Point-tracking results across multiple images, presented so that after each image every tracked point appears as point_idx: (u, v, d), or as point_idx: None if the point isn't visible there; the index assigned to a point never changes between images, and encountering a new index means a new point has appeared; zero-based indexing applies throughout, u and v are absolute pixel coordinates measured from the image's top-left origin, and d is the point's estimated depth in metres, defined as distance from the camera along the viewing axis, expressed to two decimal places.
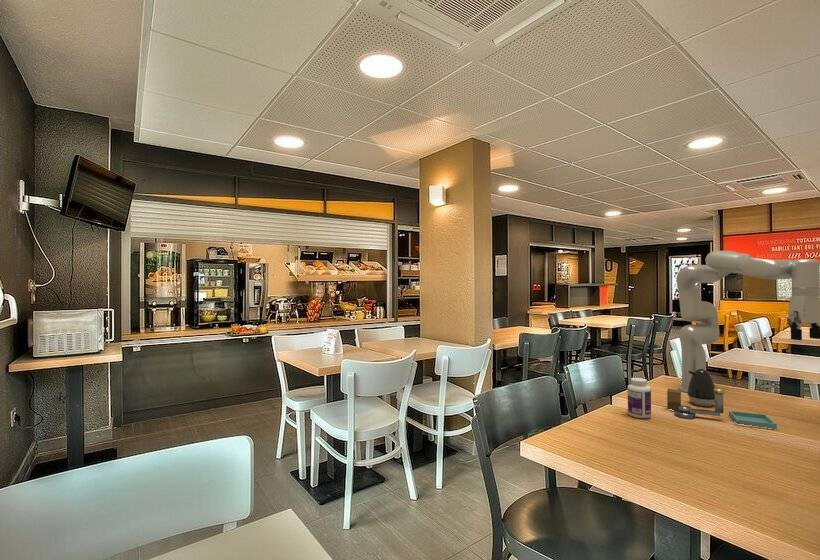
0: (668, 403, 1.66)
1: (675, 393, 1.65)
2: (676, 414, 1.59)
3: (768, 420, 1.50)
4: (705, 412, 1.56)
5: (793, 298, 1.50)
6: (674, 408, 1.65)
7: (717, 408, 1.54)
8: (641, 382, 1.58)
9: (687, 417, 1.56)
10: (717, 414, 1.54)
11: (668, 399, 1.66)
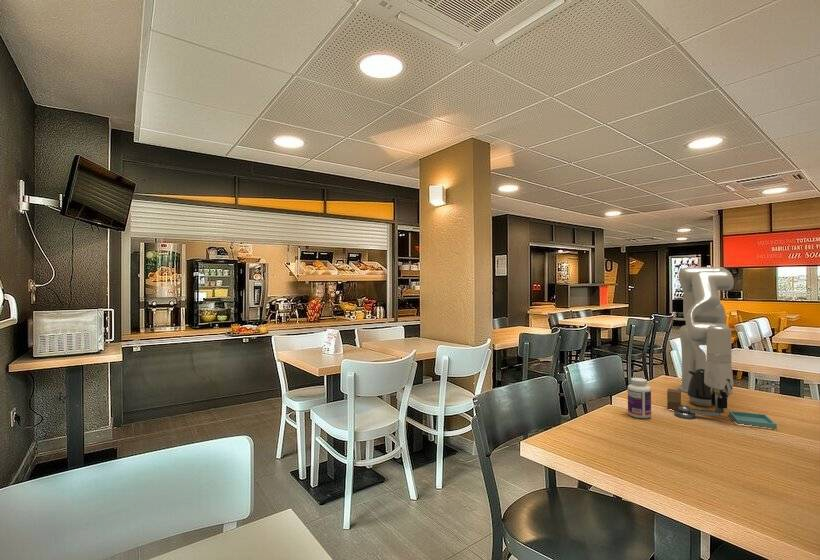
0: (668, 403, 1.66)
1: (675, 393, 1.65)
2: (676, 414, 1.59)
3: (768, 420, 1.50)
4: (705, 412, 1.56)
5: (724, 366, 1.51)
6: (674, 408, 1.65)
7: (717, 408, 1.54)
8: (641, 382, 1.58)
9: (687, 417, 1.56)
10: (717, 414, 1.54)
11: (668, 399, 1.66)
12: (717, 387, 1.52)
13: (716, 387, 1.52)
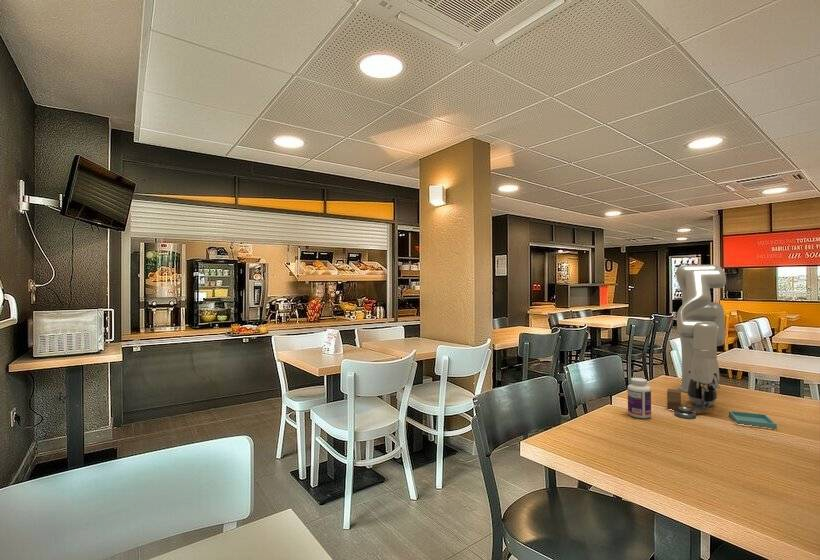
0: (668, 403, 1.66)
1: (675, 393, 1.65)
2: (676, 414, 1.59)
3: (768, 420, 1.50)
4: (699, 408, 1.61)
5: (711, 361, 1.58)
6: (674, 408, 1.65)
7: (706, 402, 1.62)
8: (641, 382, 1.58)
9: (687, 417, 1.56)
10: (707, 408, 1.62)
11: (668, 399, 1.66)
12: (705, 381, 1.59)
13: (704, 381, 1.60)
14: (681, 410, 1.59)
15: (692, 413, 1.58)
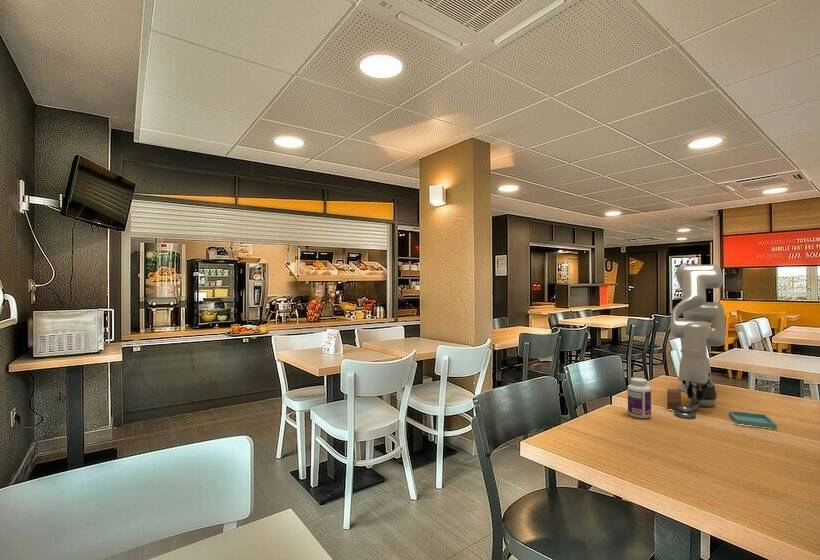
0: (668, 403, 1.66)
1: (675, 393, 1.65)
2: (676, 414, 1.59)
3: (768, 420, 1.50)
4: (694, 406, 1.63)
5: (706, 361, 1.62)
6: (674, 408, 1.65)
7: (697, 400, 1.65)
8: (641, 382, 1.58)
9: (687, 417, 1.56)
10: (698, 405, 1.65)
11: (668, 399, 1.66)
12: (701, 381, 1.62)
13: (700, 381, 1.62)
14: (683, 410, 1.58)
15: (692, 413, 1.58)
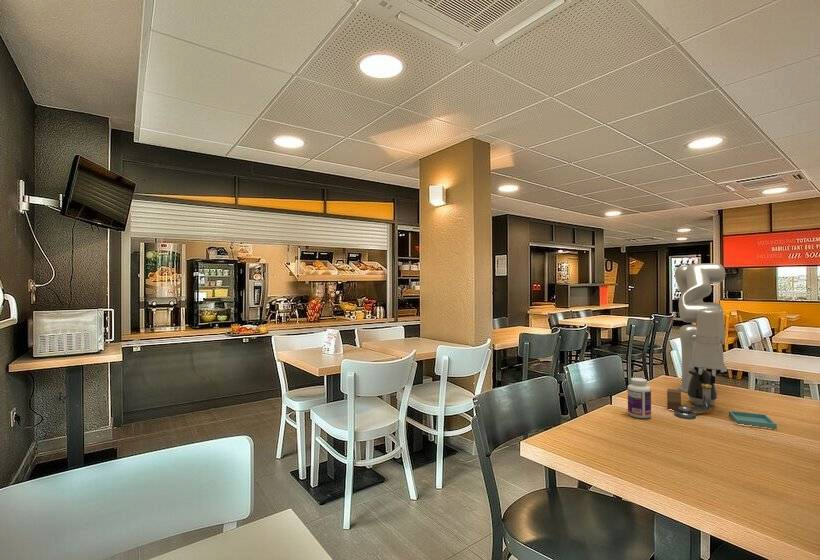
0: (668, 403, 1.66)
1: (675, 393, 1.65)
2: (676, 414, 1.59)
3: (768, 420, 1.50)
4: (700, 408, 1.60)
5: None
6: (674, 408, 1.65)
7: (707, 402, 1.61)
8: (641, 382, 1.58)
9: (687, 417, 1.56)
10: (708, 408, 1.61)
11: (668, 399, 1.66)
12: (718, 367, 1.59)
13: (716, 367, 1.60)
14: (681, 410, 1.59)
15: (692, 413, 1.58)
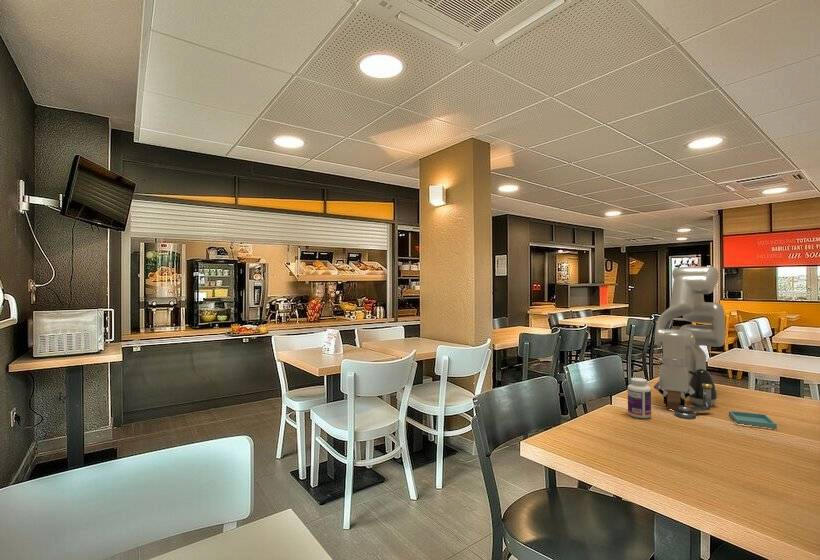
0: (668, 403, 1.66)
1: (675, 393, 1.65)
2: (676, 414, 1.59)
3: (768, 420, 1.50)
4: (700, 408, 1.60)
5: (687, 369, 1.64)
6: (674, 408, 1.65)
7: (708, 403, 1.61)
8: (641, 382, 1.58)
9: (687, 417, 1.56)
10: (708, 408, 1.61)
11: (668, 399, 1.66)
12: (684, 390, 1.63)
13: (682, 390, 1.63)
14: (681, 410, 1.59)
15: (692, 413, 1.58)
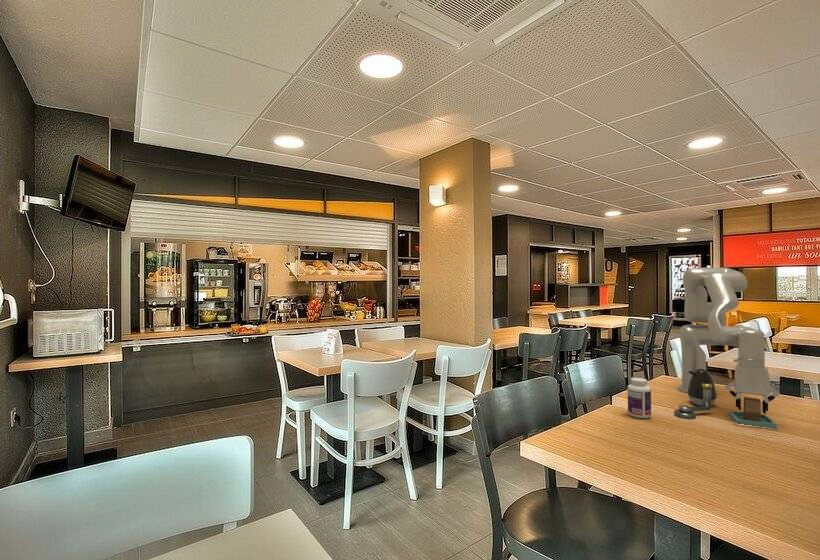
0: (746, 413, 1.51)
1: (754, 402, 1.49)
2: (676, 414, 1.59)
3: (768, 420, 1.50)
4: (700, 408, 1.60)
5: (767, 370, 1.48)
6: (753, 419, 1.50)
7: (708, 403, 1.61)
8: (641, 382, 1.58)
9: (687, 417, 1.56)
10: (708, 408, 1.61)
11: (746, 409, 1.51)
12: (765, 393, 1.47)
13: (763, 393, 1.48)
14: (681, 410, 1.59)
15: (692, 413, 1.58)
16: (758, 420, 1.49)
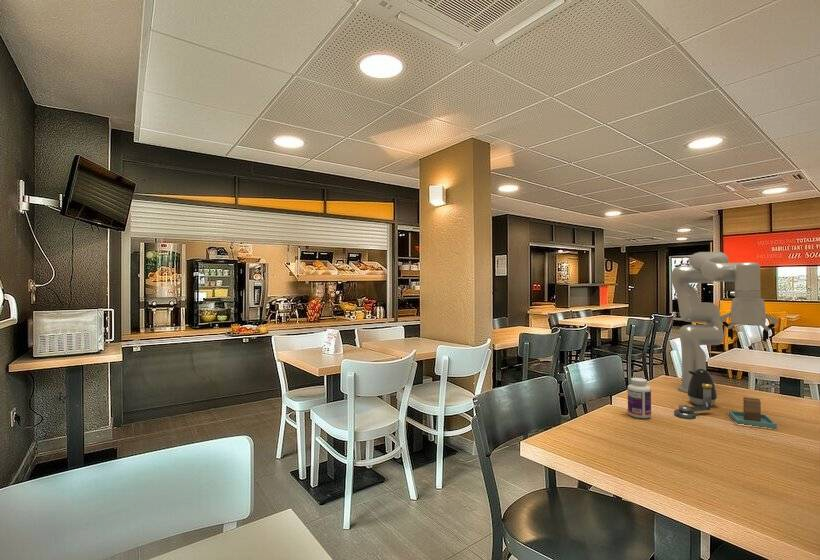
0: (746, 413, 1.51)
1: (754, 402, 1.49)
2: (676, 414, 1.59)
3: (768, 420, 1.50)
4: (700, 408, 1.60)
5: (763, 300, 1.52)
6: (753, 419, 1.50)
7: (708, 403, 1.61)
8: (641, 382, 1.58)
9: (687, 417, 1.56)
10: (708, 408, 1.61)
11: (746, 409, 1.51)
12: (760, 322, 1.51)
13: (759, 323, 1.51)
14: (681, 410, 1.59)
15: (692, 413, 1.58)
16: (758, 420, 1.49)
